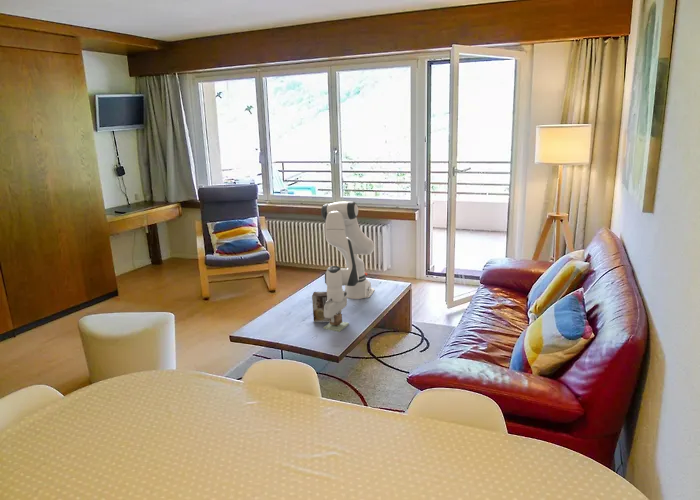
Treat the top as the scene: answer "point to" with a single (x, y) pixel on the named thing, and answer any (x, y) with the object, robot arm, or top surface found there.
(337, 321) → the walnut cube
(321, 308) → the coffee box
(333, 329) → the sage board
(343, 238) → the robot arm
